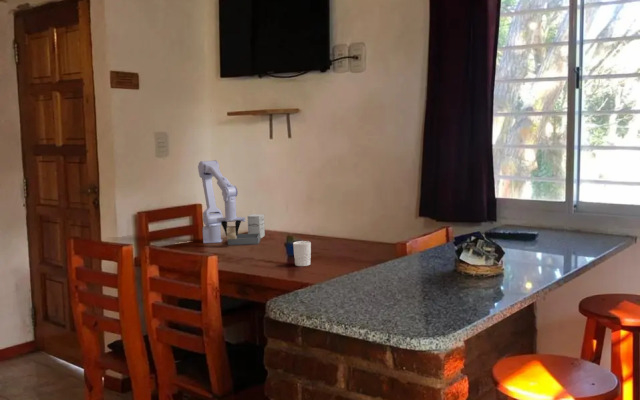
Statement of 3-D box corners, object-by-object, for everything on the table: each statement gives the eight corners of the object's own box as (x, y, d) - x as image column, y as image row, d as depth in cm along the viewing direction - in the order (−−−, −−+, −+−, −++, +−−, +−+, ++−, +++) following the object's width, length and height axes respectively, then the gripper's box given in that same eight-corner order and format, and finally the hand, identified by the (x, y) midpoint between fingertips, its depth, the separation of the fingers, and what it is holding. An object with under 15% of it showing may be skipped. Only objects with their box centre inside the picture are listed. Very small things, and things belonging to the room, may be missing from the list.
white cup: (301, 262, 297) (301, 240, 295) (315, 264, 292) (314, 241, 290) (290, 265, 291) (289, 243, 289) (303, 267, 286) (302, 244, 284)
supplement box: (247, 238, 362) (246, 215, 361) (253, 235, 369) (252, 213, 368) (260, 238, 360) (259, 215, 359) (265, 236, 367) (264, 213, 366)
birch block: (227, 239, 336) (226, 227, 336) (228, 237, 341) (227, 226, 340) (235, 239, 336) (235, 227, 336) (236, 237, 341) (236, 226, 340)
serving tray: (227, 245, 343) (227, 238, 343) (231, 240, 357) (231, 234, 356) (258, 244, 343) (257, 237, 342) (260, 239, 357) (260, 233, 356)
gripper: (215, 211, 333) (216, 237, 334) (243, 210, 333) (244, 236, 334) (217, 209, 340) (218, 234, 341) (245, 208, 340) (246, 234, 341)
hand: (231, 235), depth 338 cm, fingers closed on birch block, 4 cm apart
